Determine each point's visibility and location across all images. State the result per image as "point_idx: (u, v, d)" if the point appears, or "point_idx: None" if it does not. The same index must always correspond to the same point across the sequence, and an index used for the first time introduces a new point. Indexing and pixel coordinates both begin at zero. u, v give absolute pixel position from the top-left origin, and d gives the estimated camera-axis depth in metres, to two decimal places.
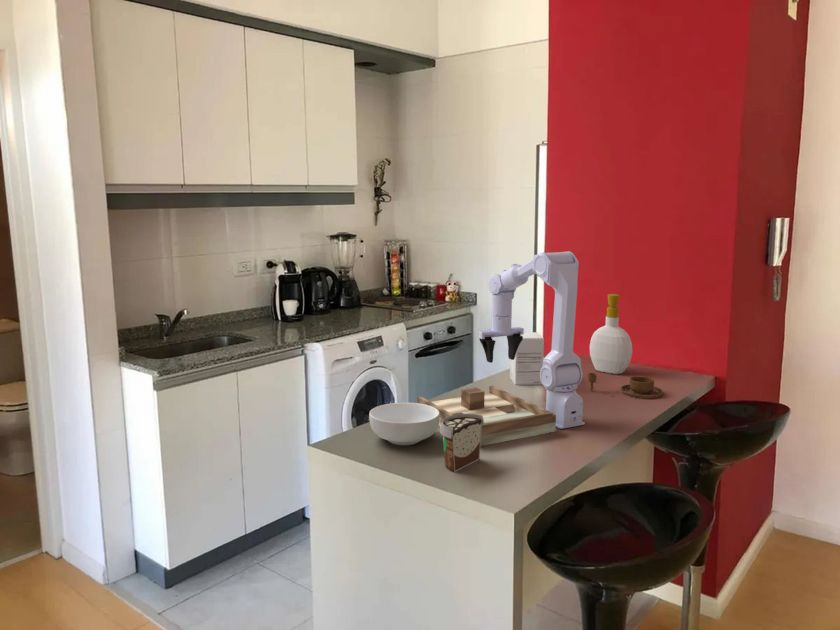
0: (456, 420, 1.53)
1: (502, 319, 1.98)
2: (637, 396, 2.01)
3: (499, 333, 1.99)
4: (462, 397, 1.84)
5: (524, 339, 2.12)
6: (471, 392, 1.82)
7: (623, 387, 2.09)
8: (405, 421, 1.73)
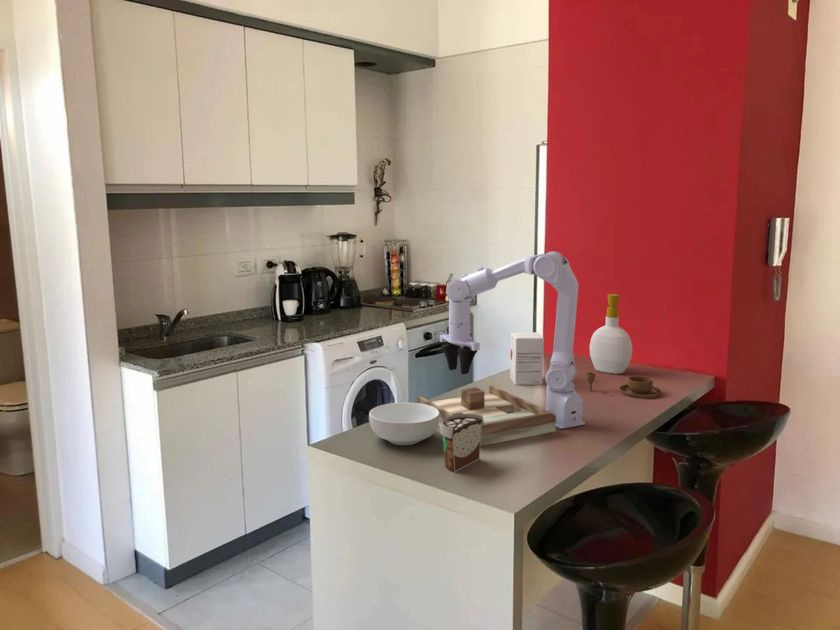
0: (456, 420, 1.53)
1: (449, 326, 1.87)
2: (635, 396, 2.01)
3: (447, 340, 1.88)
4: (462, 397, 1.84)
5: (524, 339, 2.12)
6: (471, 392, 1.82)
7: (622, 387, 2.09)
8: (405, 421, 1.73)
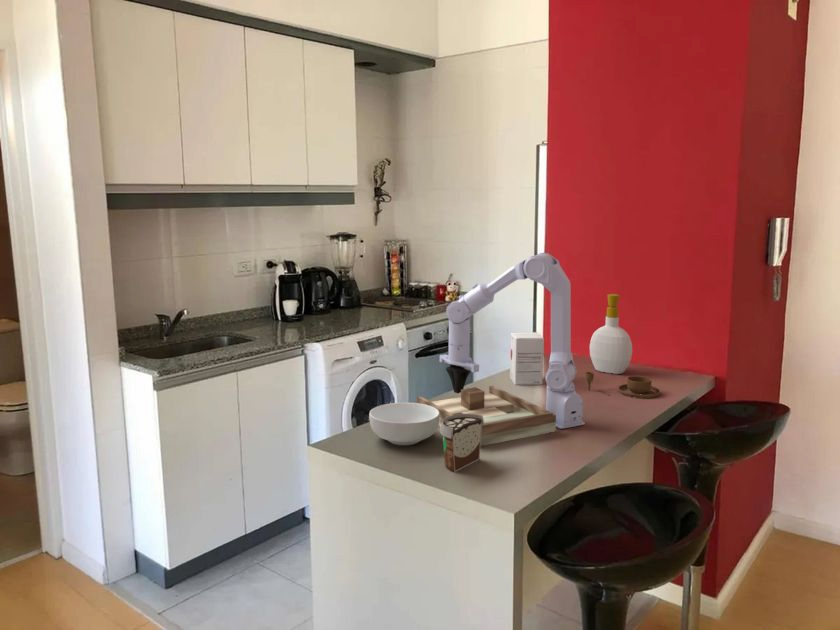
0: (456, 420, 1.53)
1: None
2: (633, 395, 2.01)
3: (446, 360, 1.89)
4: (462, 397, 1.84)
5: (524, 339, 2.12)
6: (471, 392, 1.82)
7: (621, 386, 2.10)
8: (405, 421, 1.73)
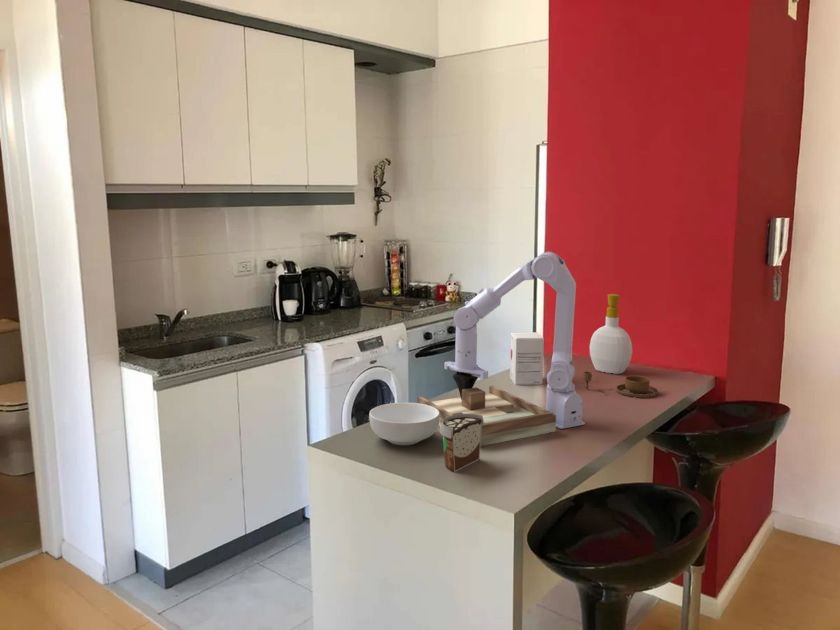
0: (456, 420, 1.53)
1: (455, 354, 1.84)
2: (631, 395, 2.01)
3: (453, 368, 1.86)
4: (463, 397, 1.84)
5: (524, 339, 2.12)
6: (472, 392, 1.82)
7: (619, 386, 2.10)
8: (405, 421, 1.73)
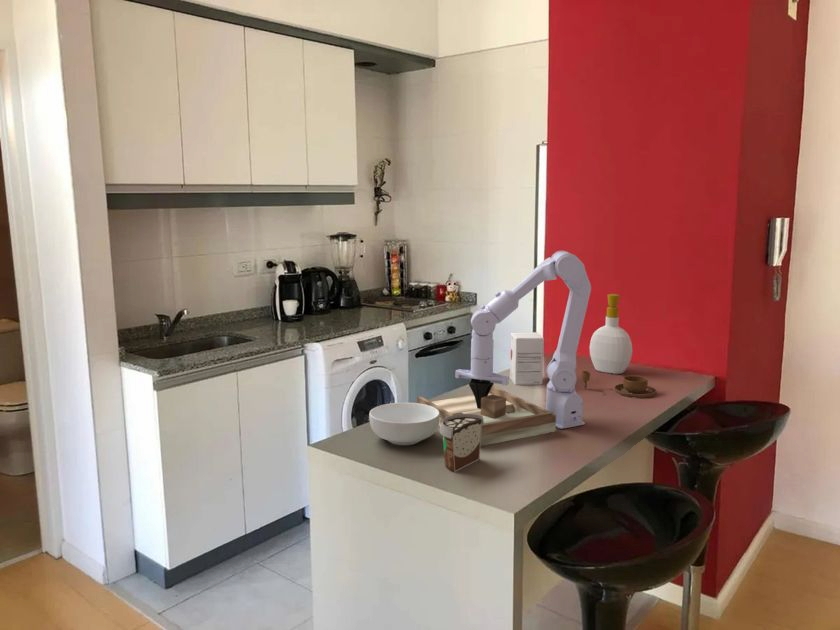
0: (456, 420, 1.53)
1: (472, 361, 1.77)
2: (629, 395, 2.02)
3: (469, 376, 1.78)
4: (483, 406, 1.77)
5: (524, 339, 2.12)
6: (494, 399, 1.75)
7: (618, 386, 2.10)
8: (405, 421, 1.73)
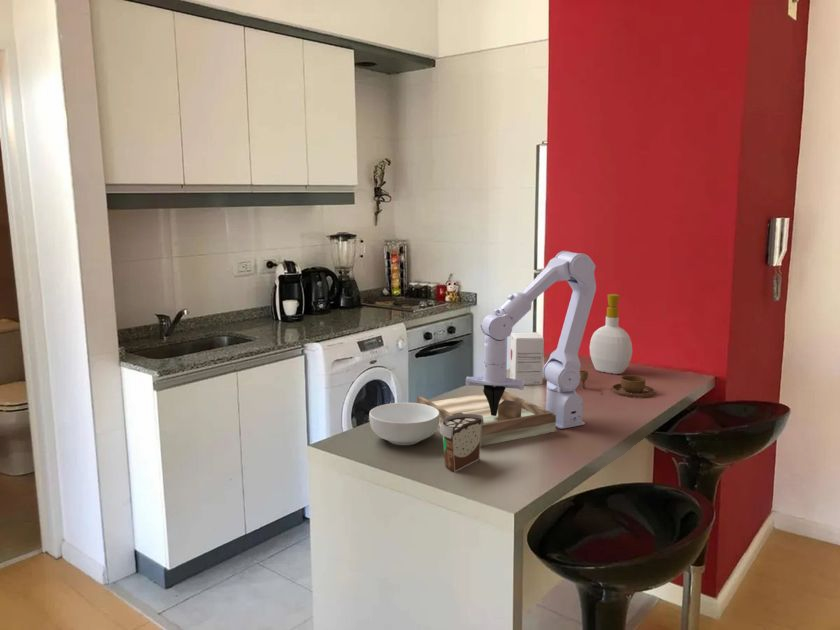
0: (456, 420, 1.53)
1: (488, 367, 1.71)
2: (626, 394, 2.02)
3: (484, 383, 1.72)
4: (500, 412, 1.71)
5: (524, 339, 2.12)
6: (512, 405, 1.71)
7: (616, 386, 2.11)
8: (405, 421, 1.73)
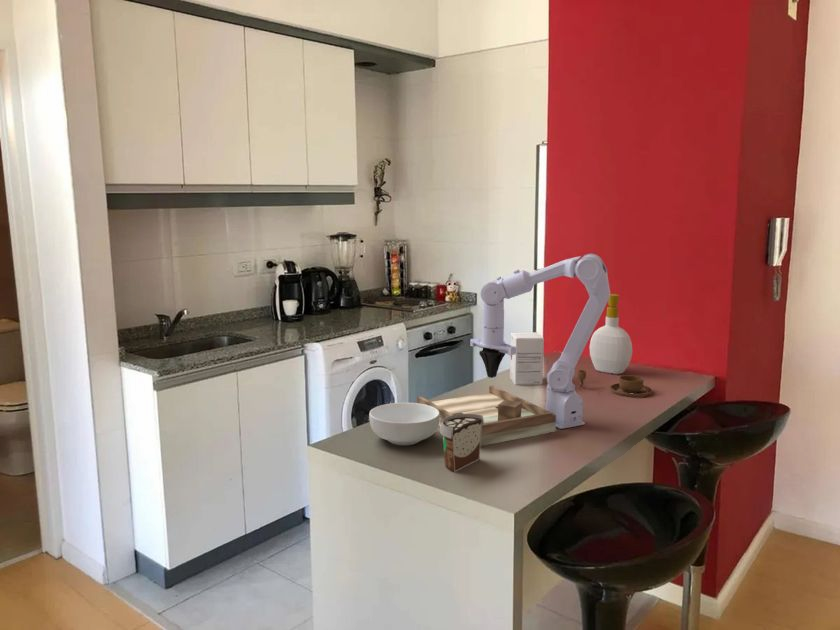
0: (456, 420, 1.53)
1: (482, 330, 1.81)
2: (623, 394, 2.02)
3: (480, 344, 1.83)
4: (500, 412, 1.71)
5: (524, 339, 2.12)
6: (512, 405, 1.71)
7: (614, 385, 2.11)
8: (405, 421, 1.73)
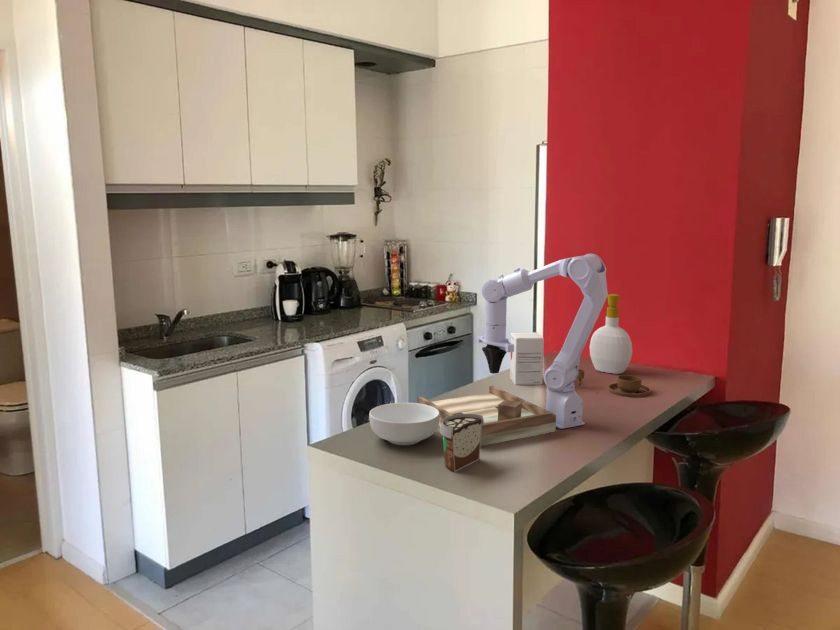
0: (456, 420, 1.53)
1: None
2: (621, 394, 2.03)
3: (482, 340, 1.87)
4: (500, 412, 1.71)
5: (524, 339, 2.12)
6: (512, 405, 1.71)
7: (612, 385, 2.12)
8: (405, 421, 1.73)
